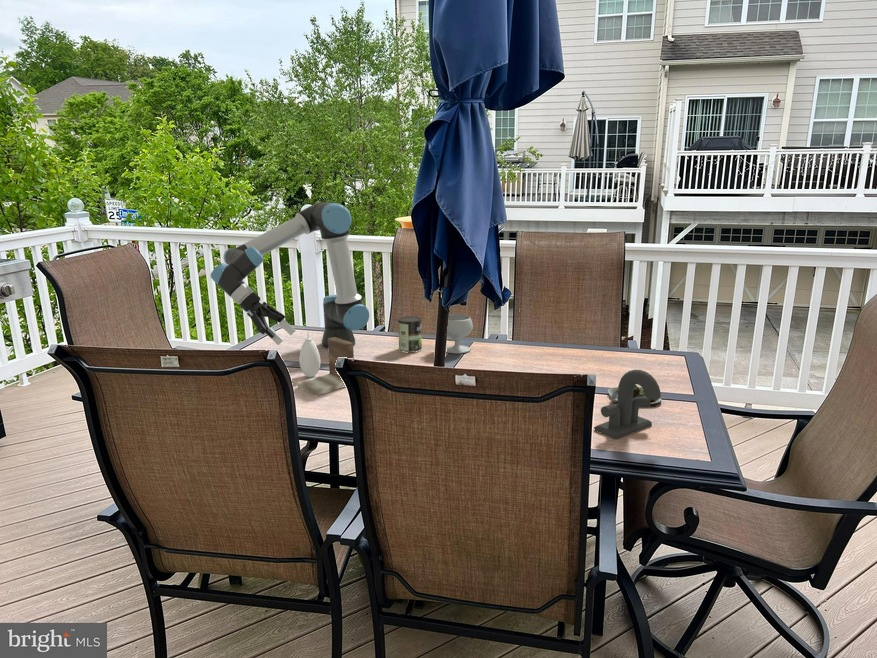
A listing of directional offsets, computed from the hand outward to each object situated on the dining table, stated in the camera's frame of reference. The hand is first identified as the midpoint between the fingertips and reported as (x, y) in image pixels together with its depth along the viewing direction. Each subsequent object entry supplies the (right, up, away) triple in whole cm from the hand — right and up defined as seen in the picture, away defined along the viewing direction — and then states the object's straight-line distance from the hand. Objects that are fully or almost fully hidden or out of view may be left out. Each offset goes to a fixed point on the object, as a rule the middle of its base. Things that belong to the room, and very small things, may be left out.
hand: (287, 337), depth 235 cm
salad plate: (+125, -21, -21) cm, 128 cm away
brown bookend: (+16, -18, -6) cm, 25 cm away
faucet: (+117, -28, -47) cm, 129 cm away
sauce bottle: (+8, -15, +4) cm, 18 cm away
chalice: (+66, -6, +37) cm, 75 cm away
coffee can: (+45, -6, +38) cm, 59 cm away
